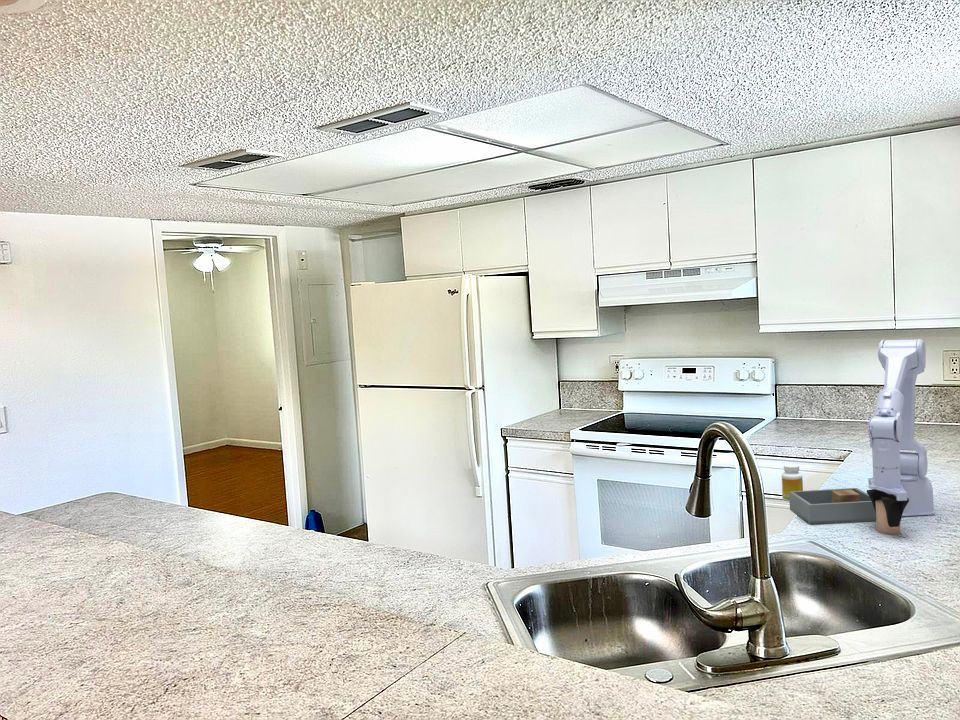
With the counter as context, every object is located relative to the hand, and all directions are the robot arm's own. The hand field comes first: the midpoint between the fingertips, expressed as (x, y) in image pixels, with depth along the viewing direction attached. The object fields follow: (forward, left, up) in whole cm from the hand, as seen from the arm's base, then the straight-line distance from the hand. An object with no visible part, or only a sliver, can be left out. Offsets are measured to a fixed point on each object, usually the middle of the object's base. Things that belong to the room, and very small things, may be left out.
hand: (888, 522), depth 179 cm
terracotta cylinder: (0, 0, -2) cm, 2 cm away
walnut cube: (+4, -15, -1) cm, 15 cm away
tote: (+6, -15, -2) cm, 16 cm away
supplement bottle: (+11, -31, -2) cm, 33 cm away
